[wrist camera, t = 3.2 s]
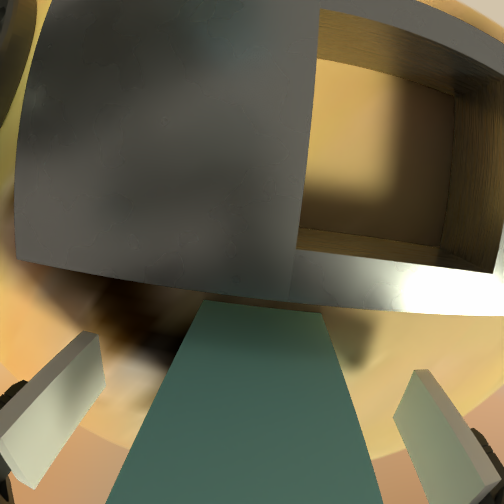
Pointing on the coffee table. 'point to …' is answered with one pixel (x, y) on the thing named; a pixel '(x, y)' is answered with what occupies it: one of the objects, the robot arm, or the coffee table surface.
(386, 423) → the coffee table surface
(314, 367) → the teal block
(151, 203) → the grey slotted board
